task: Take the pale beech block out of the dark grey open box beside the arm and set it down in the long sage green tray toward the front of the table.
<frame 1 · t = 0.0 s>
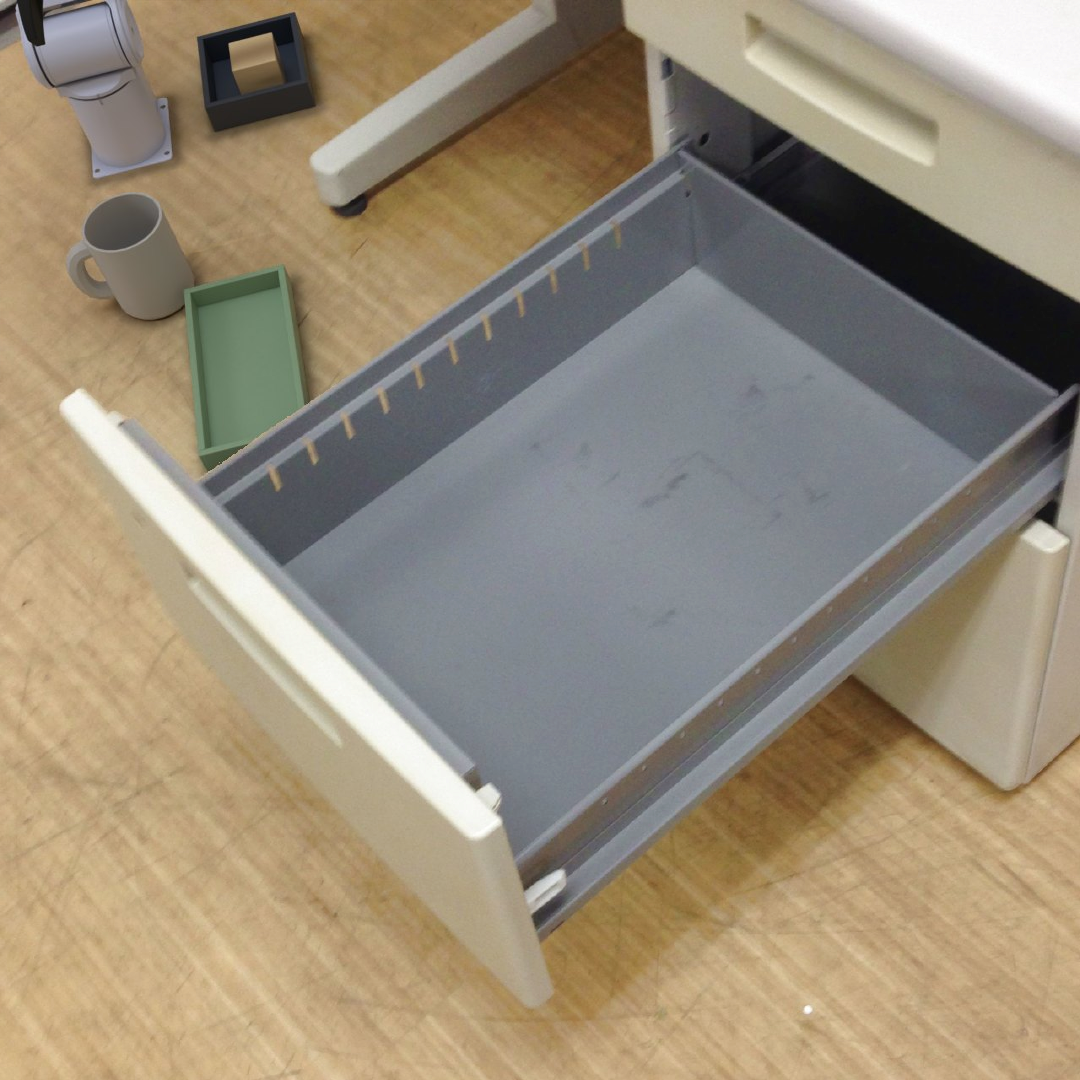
cup: (144, 298, 138), on the table
block: (265, 88, 151), resting on dark grey open box
tray: (251, 374, 131), on the table
dark grey open box: (261, 86, 152), on the table
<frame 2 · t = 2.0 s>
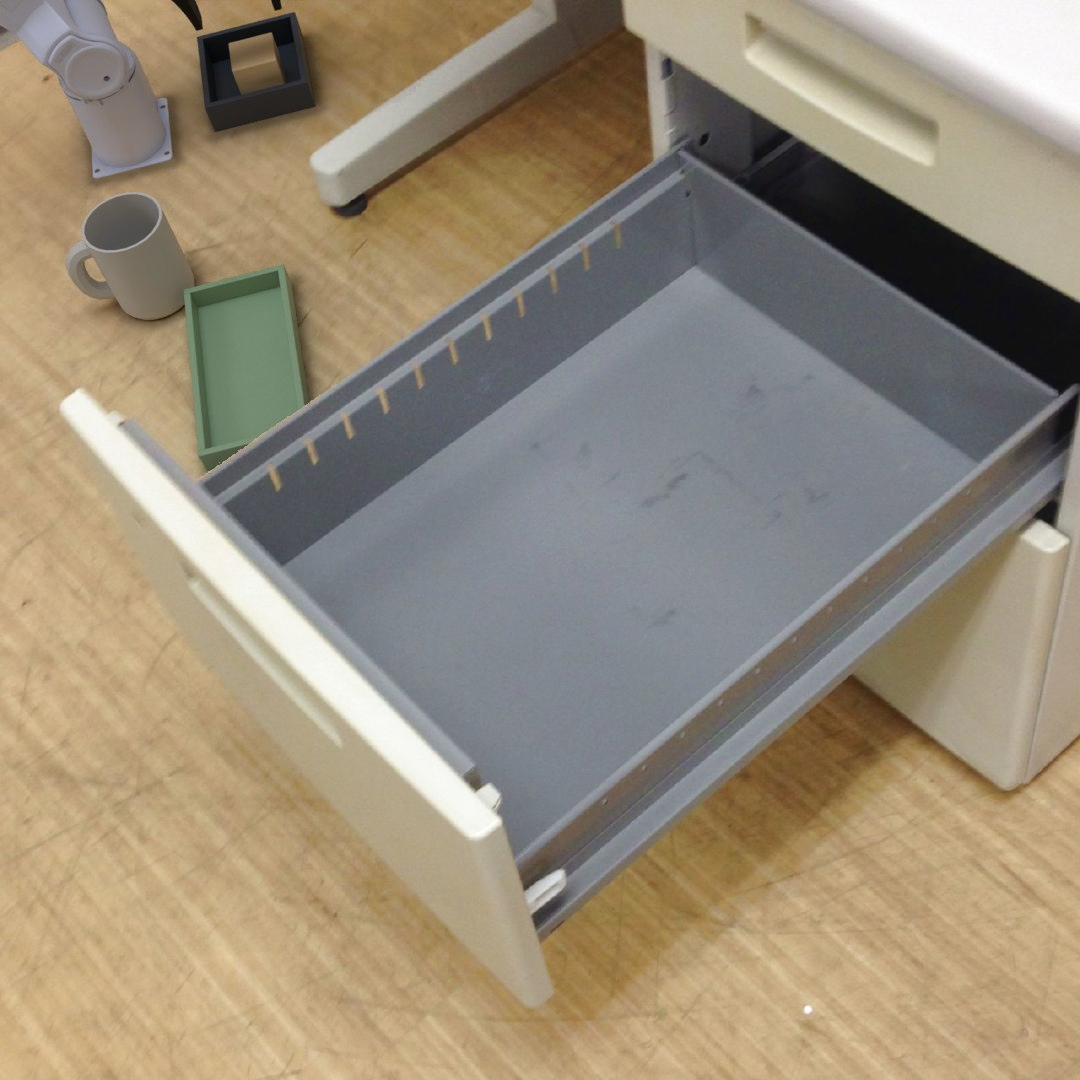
hand: (238, 13, 144), 9 cm above the table, tool pointing down, fingers open, 7 cm apart
nothing on the table moved.
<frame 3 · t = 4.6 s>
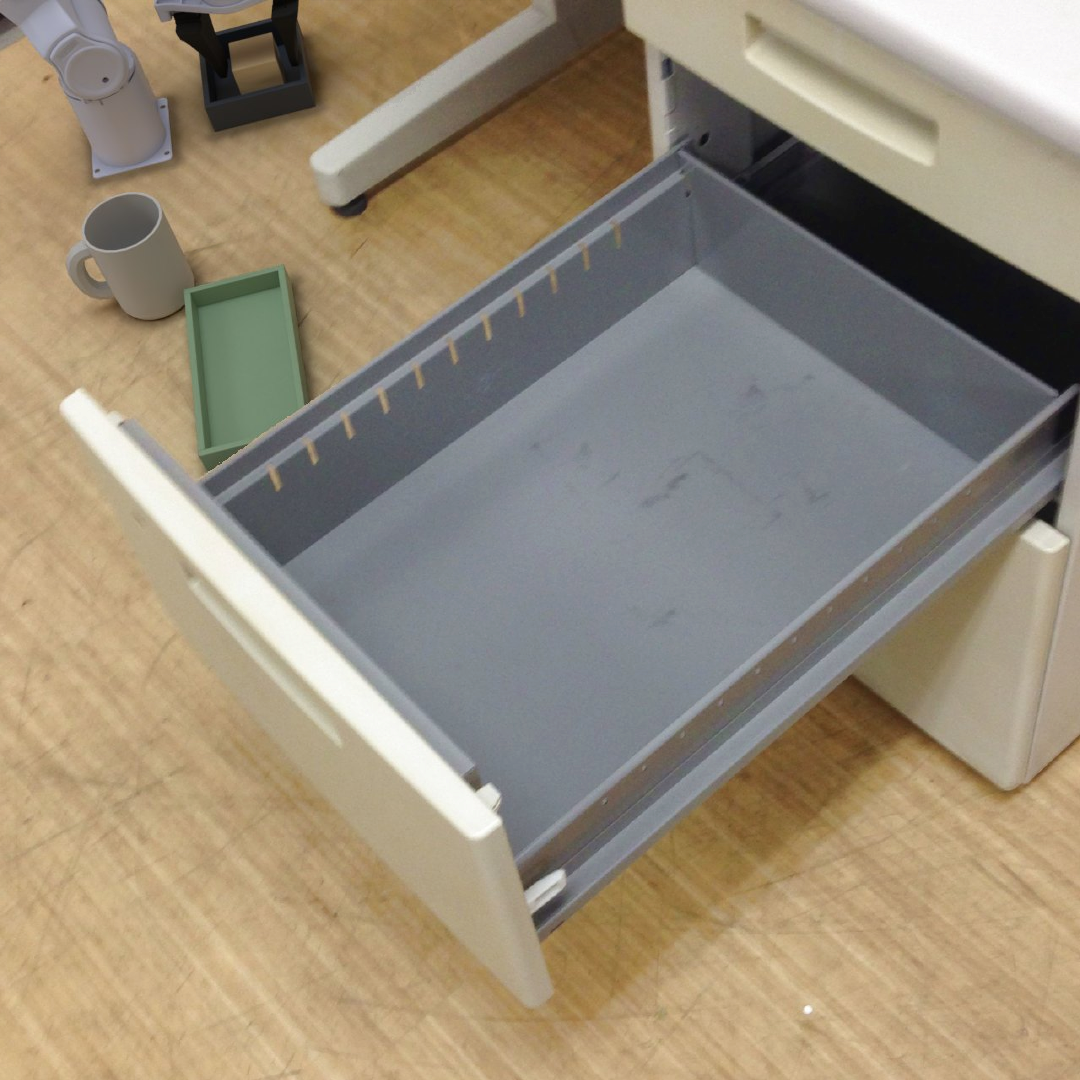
hand: (259, 65, 149), 3 cm above the table, tool pointing down, fingers open, 7 cm apart
nothing on the table moved.
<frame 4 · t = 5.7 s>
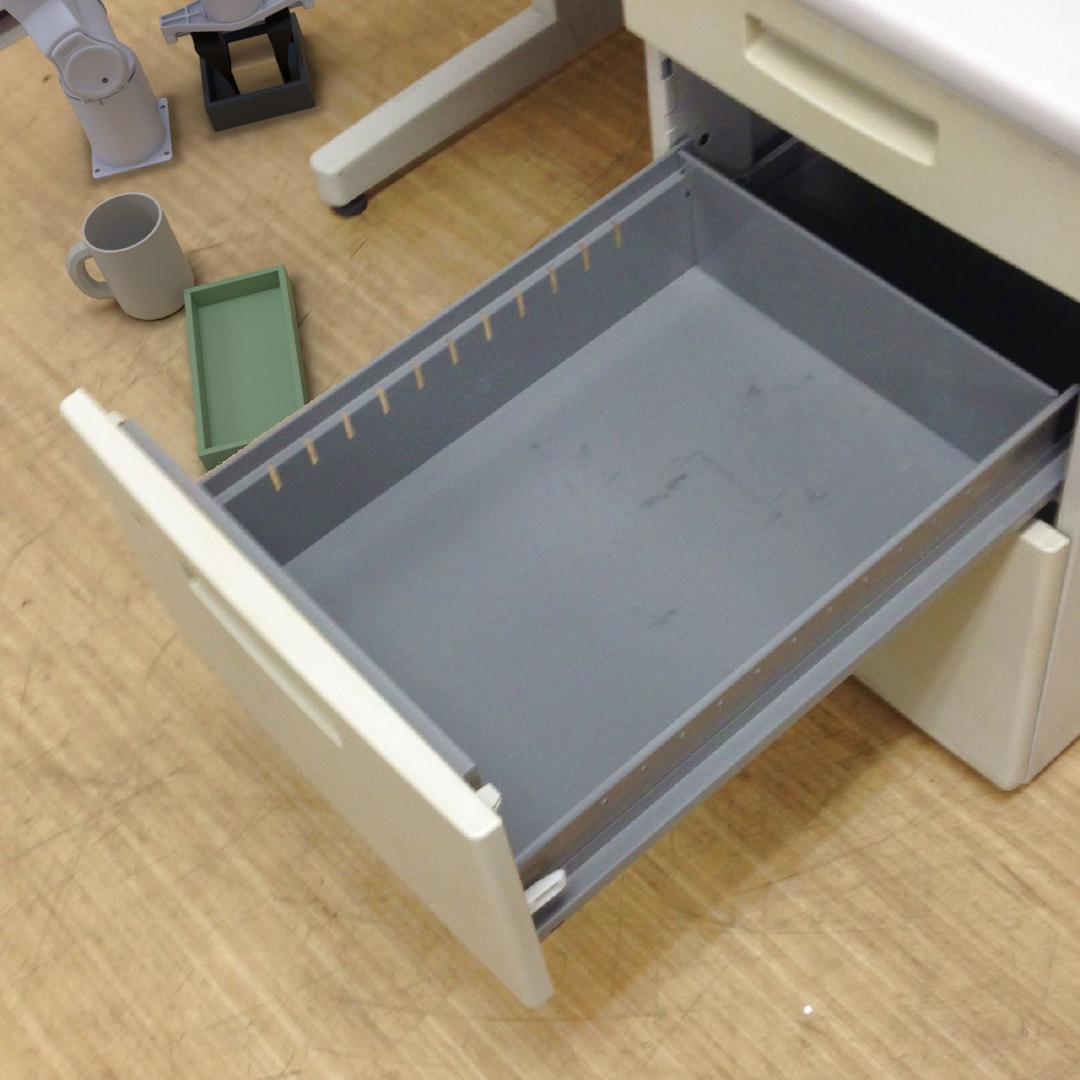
hand: (262, 80, 150), 1 cm above the table, tool pointing down, fingers closed on block, 4 cm apart
block: (265, 88, 151), point 1 cm above the table, touching gripper
everything else where it was.
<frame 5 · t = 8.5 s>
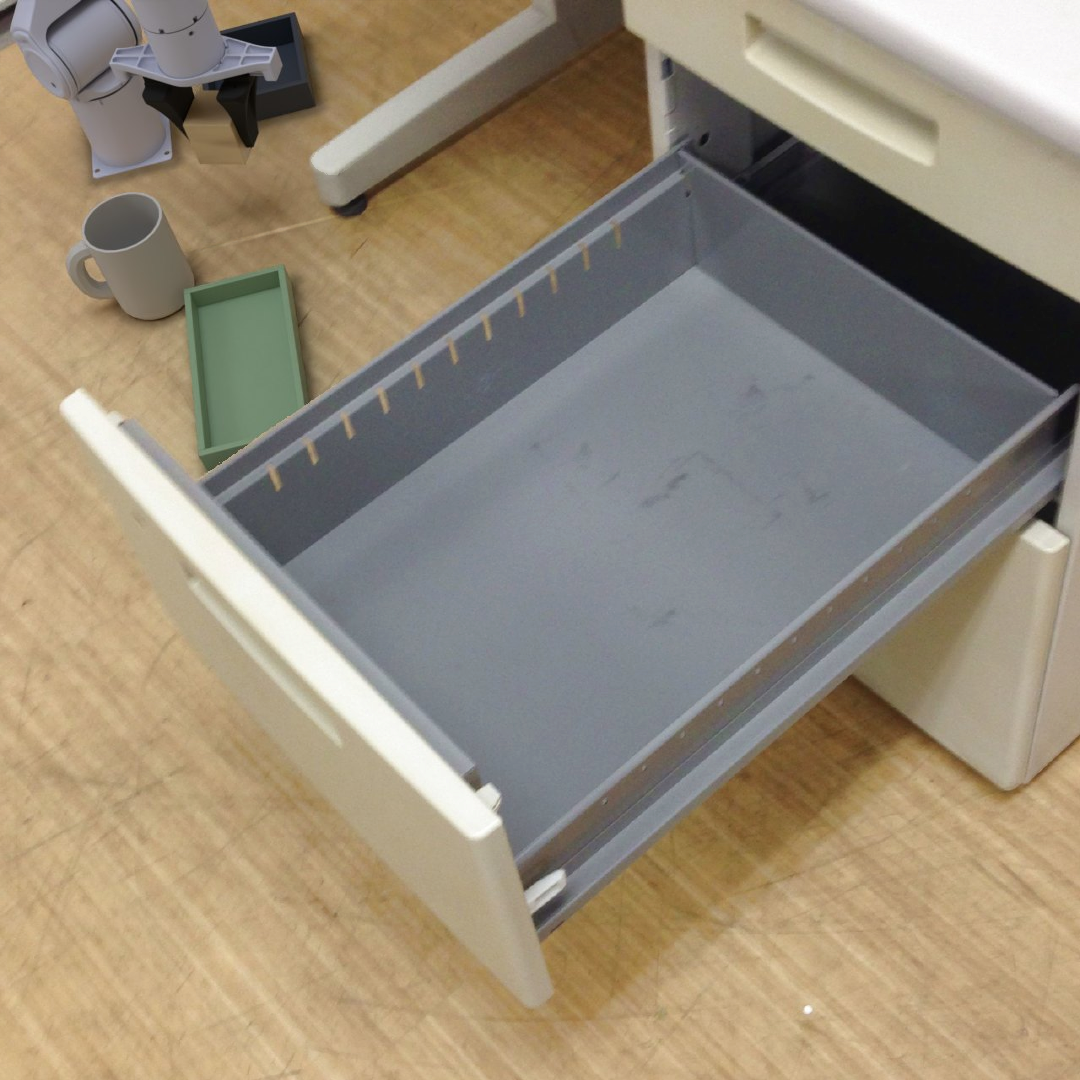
hand: (226, 139, 134), 9 cm above the table, tool pointing down, fingers closed on block, 4 cm apart
block: (229, 147, 135), point 9 cm above the table, touching gripper
everything else where it was.
when the fingers open (3 cm above the table, at t = 11.3 s): block stays where it is, resting on tray.
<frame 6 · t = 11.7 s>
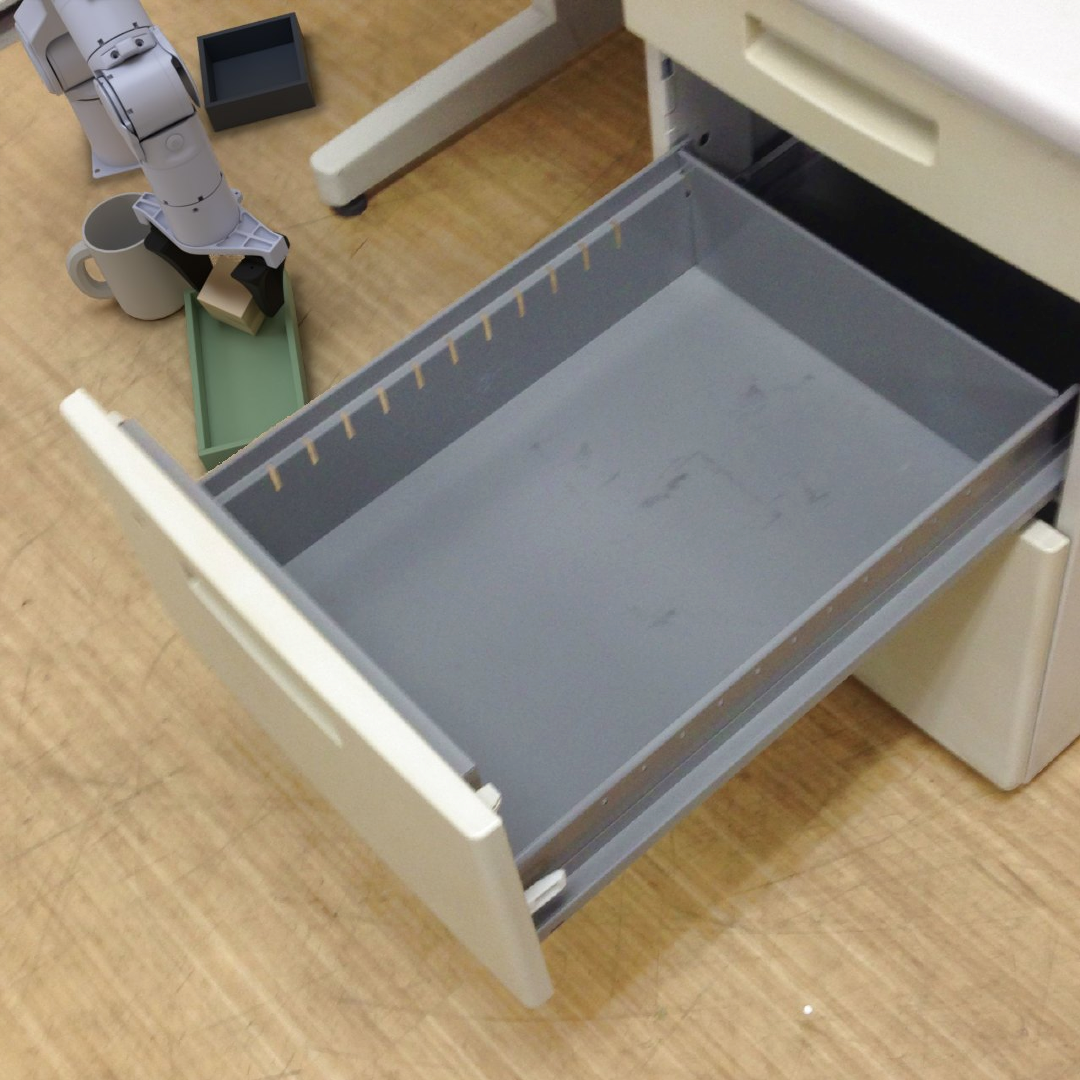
hand: (240, 296, 132), 3 cm above the table, tool pointing down, fingers open, 7 cm apart
block: (244, 305, 133), point 2 cm above the table, tilted 21°, touching tray
everything else where it was.
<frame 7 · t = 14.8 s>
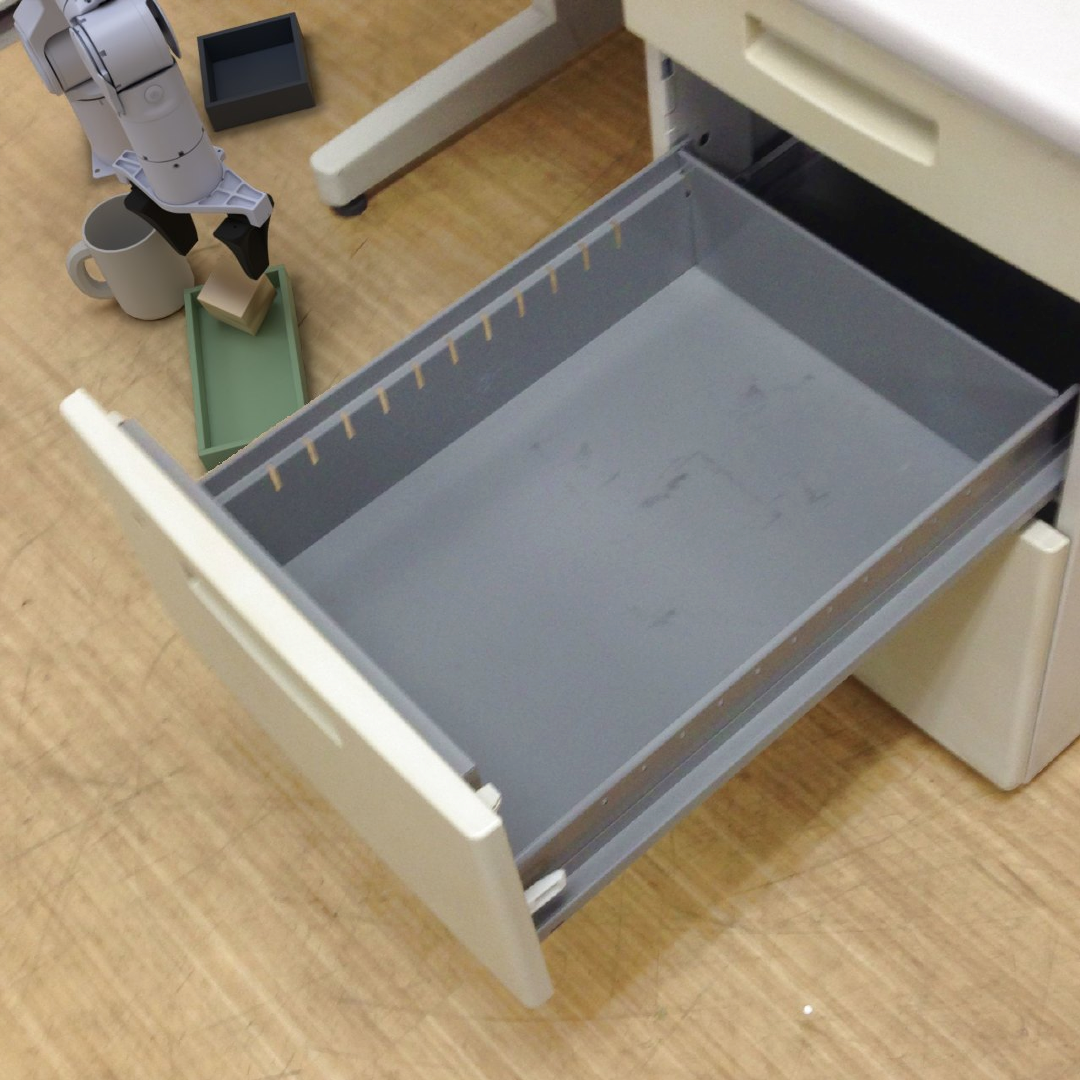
hand: (224, 259, 129), 7 cm above the table, tool pointing down, fingers open, 7 cm apart
nothing on the table moved.
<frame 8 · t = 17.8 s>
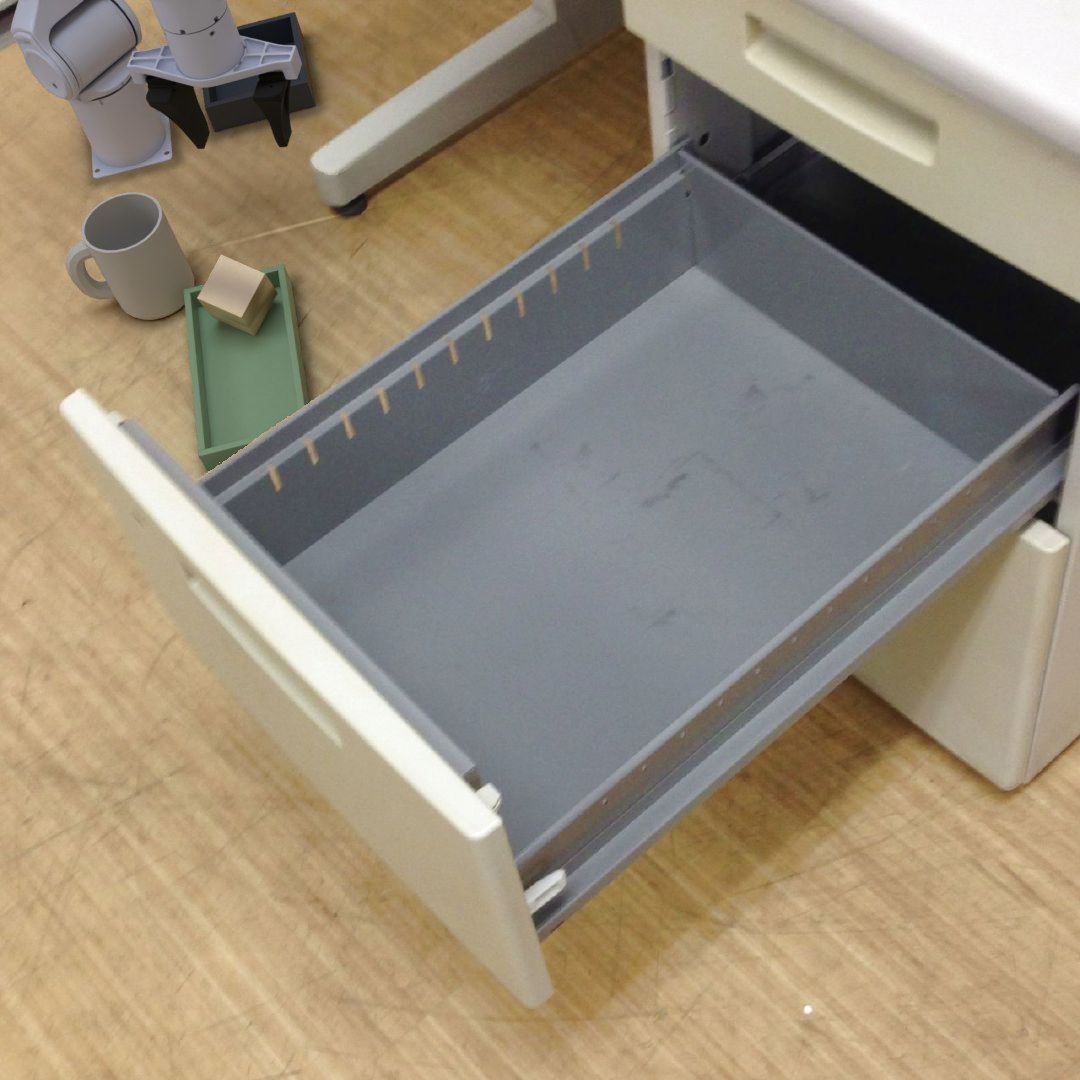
hand: (244, 140, 134), 9 cm above the table, tool pointing down, fingers open, 7 cm apart
nothing on the table moved.
at the end: block inside the target area in the tray (6.7 cm from its centre), point 1.6 cm above the tray's base; block touching tray; the gripper is holding nothing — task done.
